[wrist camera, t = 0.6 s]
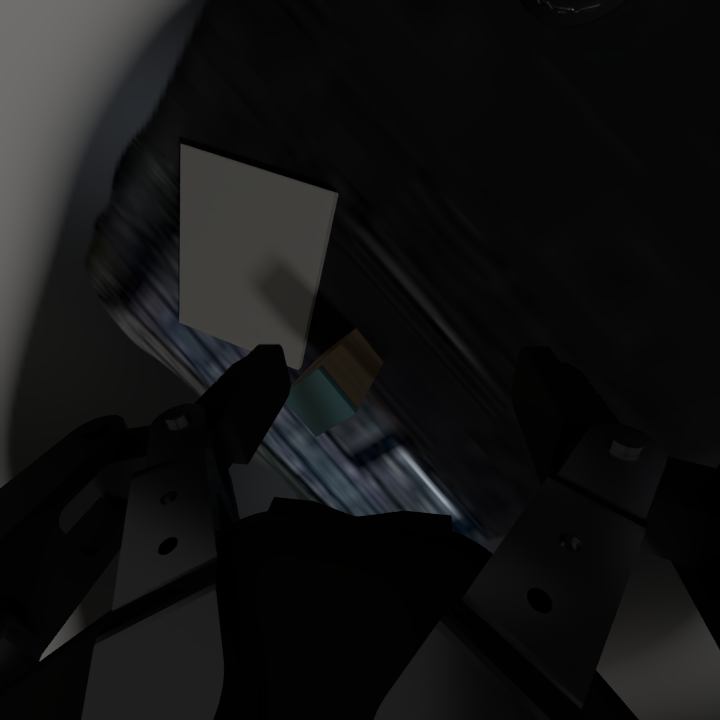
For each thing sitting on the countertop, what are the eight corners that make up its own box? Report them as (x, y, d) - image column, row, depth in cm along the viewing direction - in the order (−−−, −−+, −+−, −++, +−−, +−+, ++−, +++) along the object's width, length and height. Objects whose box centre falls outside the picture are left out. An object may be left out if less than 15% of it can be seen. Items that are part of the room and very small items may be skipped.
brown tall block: (356, 327, 37) (318, 368, 27) (383, 362, 37) (355, 413, 28) (325, 350, 39) (280, 395, 29) (351, 382, 40) (316, 436, 30)
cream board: (187, 145, 34) (180, 143, 33) (338, 193, 32) (334, 192, 31) (185, 320, 43) (179, 322, 42) (301, 366, 41) (297, 369, 40)
